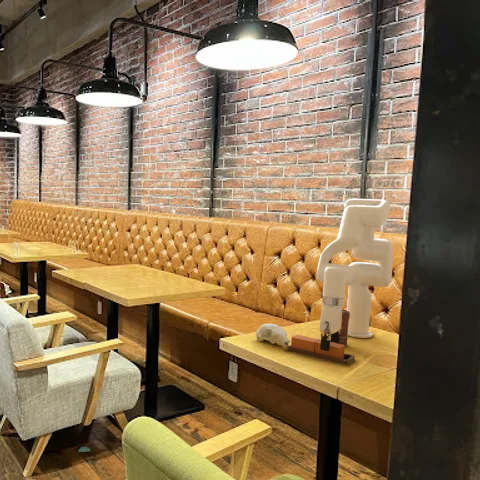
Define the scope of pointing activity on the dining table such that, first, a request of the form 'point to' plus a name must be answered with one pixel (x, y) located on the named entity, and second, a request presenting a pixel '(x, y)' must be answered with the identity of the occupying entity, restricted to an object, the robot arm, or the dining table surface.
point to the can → (344, 327)
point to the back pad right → (331, 350)
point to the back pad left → (304, 343)
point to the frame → (324, 356)
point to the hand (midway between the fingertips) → (329, 347)
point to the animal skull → (272, 334)
